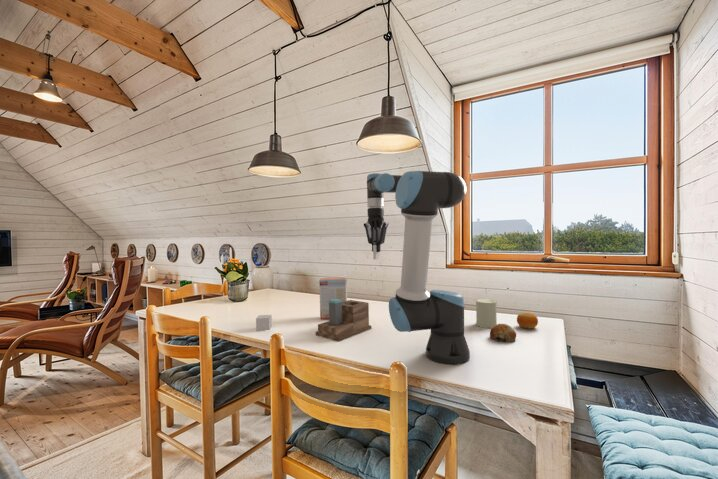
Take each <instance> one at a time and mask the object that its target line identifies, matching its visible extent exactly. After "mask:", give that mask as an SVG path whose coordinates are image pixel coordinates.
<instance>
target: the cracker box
mask: <svg viewBox="0 0 718 479" xmlns="http://www.w3.org/2000/svg"><path fill="white" fill-rule="evenodd" d="M347 279H348V278H347V277H322V278H320V279H319V282H318V283H319V312H320V313H319V316H320V320H329V300H332V299H341V300H342V302H345V301H348V286H347V284H348V282H347V281H348V280H347Z"/></svg>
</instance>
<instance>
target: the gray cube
mask: <svg viewBox="0 0 718 479" xmlns="http://www.w3.org/2000/svg"><path fill="white" fill-rule="evenodd" d="M272 317H273V316H272V314H259V315H257V317H256V318H255V327H256V328H255V331H256V332H266V331H265V330H269V331H271V329H272V327H273V323H272V321H273V318H272Z"/></svg>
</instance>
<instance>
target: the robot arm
mask: <svg viewBox="0 0 718 479" xmlns="http://www.w3.org/2000/svg"><path fill="white" fill-rule="evenodd" d="M385 193H386V194H387V193H391V194H392V193H393V194H395V196H394V199H395V204H396V207H397V208H399V209H400V213H401V215H402V216H403V217H404V232H403V234H404V235H403V247H402V259H401V260H402V262H401V263H402V264H401V274H400V276H401V277H400V278H401V279H400V286H399V287H398V288H397V289H396V291H395V296H394V297H391V298H389V301H388V311H389V317H390V320H391V323H392V325H393V327H394V328H395V330H396V331H398V332H401V333H403V332H404V333H405V332H408V333H411V332H417V331H425V330H430V334H429V338H428V341H427V344H426V347H425V356H426V358H428V359H430V360H431V361H433V362H437V363H440V364H447V365H458V364H464V363H466V362H468V361H469V360H470V358H471V355H470V354H471V353H470V352H471V351H470V349H469V345H468V342H467V340H466V337H465V307H466V306H465V302H464V296H463V295H462V294H460V293H457V292H455V291H454V292H453V291H448V290H439V289H431V290H430V291H428V290H427V282H428V270H429V259H430V250H431V248H430V247H431V239H432V238H431V235H432V225H433V220H434V219H435V218H436V217H437V216H438V211H439V209H449V208H450V209H451V208H453V207H455V206H458V205H459V204H460V203H461V202H463V200H464V199H465V196H466V194H467V184H466V182H465V180H464V179H463V177H461V175H458V174H457V173H454V172H451V171H450V172H449V171H428V170H427V171H425V170H424V171H423V170H411V171H405V172H404V173H403V174H402V175H400V174H399V175H398V174H390V173H388V172H386V173H384V172H383V173H377V172H376V173H375V172H374V173H369V174H368V175H367V177H366V194H367V196H366V201H367V202H366V205H367V206H366V207H367V210H366V211H367V217H368V218H367V221H366V222H364V223H363V227H364V229H365V234H366V238H367V243H368V244H370V245H371V252H373V254H372V256H373V257H372V258H373V260H380V252H382V251H381V245H382V244H385V240H386V233H387V230H388V229H387V228H388V227H389V222H387V221H385V218H384V216H385V210H384V206H385V203H384V198H385V197H384V194H385Z"/></svg>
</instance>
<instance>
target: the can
mask: <svg viewBox="0 0 718 479" xmlns="http://www.w3.org/2000/svg"><path fill="white" fill-rule="evenodd" d="M475 306H476V308H475V309H476V310H475V312H476V313H475V314H476V317H475V318H476V319H475V320H476V322H475V326H477V325H478V326H477V327H479V326H481V327H480V328H484V327H486V328H485V329H491V328H492V327H494V326H495V325H497V324H498V323H497V322H498V320H497V300H495V299H490V298H478V299H476V300H475Z"/></svg>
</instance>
